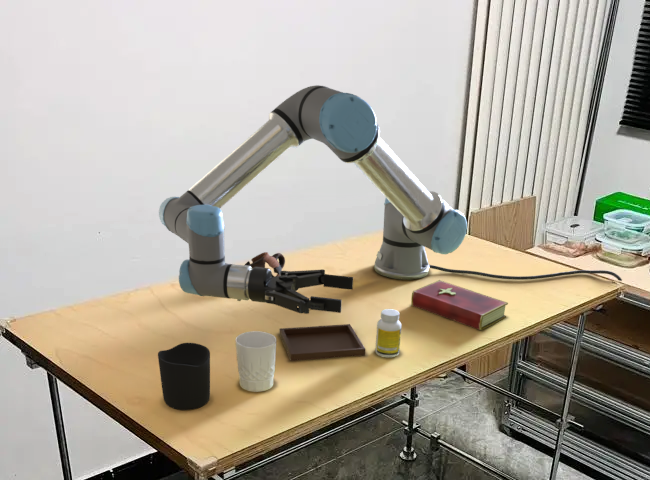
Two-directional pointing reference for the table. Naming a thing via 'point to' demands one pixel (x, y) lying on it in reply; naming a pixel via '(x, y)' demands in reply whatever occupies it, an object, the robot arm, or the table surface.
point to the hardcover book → (459, 304)
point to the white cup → (256, 360)
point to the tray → (321, 342)
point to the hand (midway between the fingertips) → (347, 294)
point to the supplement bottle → (388, 334)
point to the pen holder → (185, 376)
